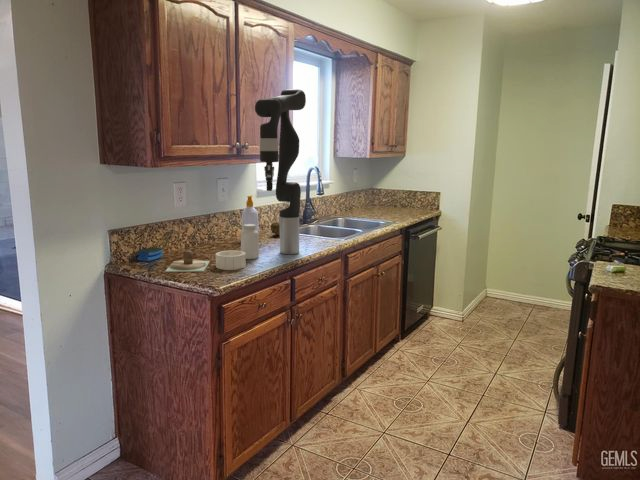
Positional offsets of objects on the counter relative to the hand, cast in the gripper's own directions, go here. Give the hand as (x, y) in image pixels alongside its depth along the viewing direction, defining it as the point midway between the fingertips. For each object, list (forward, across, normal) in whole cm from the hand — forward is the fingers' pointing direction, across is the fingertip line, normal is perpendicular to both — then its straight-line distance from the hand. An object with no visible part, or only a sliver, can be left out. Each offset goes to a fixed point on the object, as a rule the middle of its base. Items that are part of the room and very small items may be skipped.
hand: (269, 189), depth 200 cm
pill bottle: (+32, +14, +10) cm, 36 cm away
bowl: (+32, -2, +16) cm, 36 cm away
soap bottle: (+32, +55, +12) cm, 65 cm away
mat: (+32, -2, +34) cm, 46 cm away
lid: (+31, -2, +34) cm, 46 cm away
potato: (+32, +69, -3) cm, 76 cm away
